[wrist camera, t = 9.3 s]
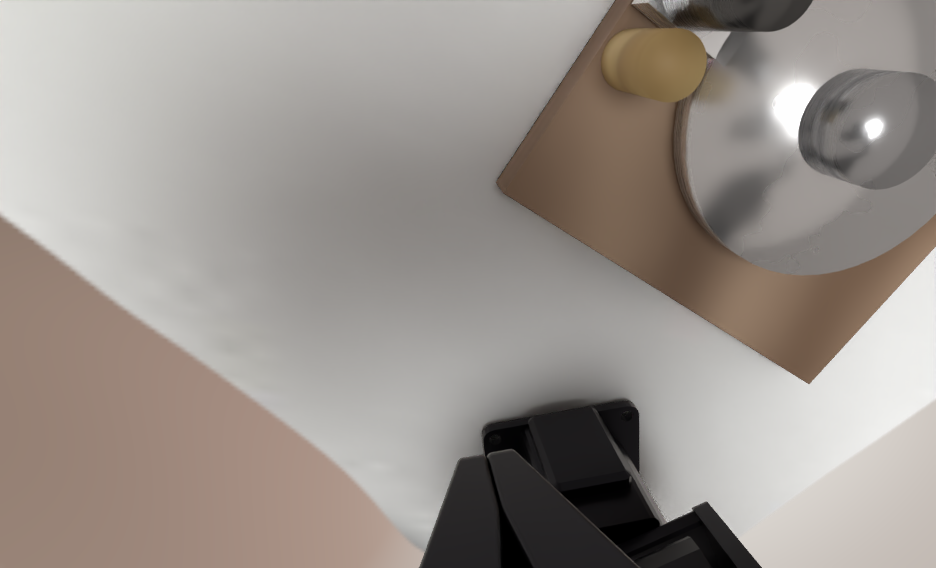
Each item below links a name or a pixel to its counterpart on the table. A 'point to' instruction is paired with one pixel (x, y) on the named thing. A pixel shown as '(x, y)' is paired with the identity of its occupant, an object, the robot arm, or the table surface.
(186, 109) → the table surface
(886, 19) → the flange
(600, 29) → the base plate
